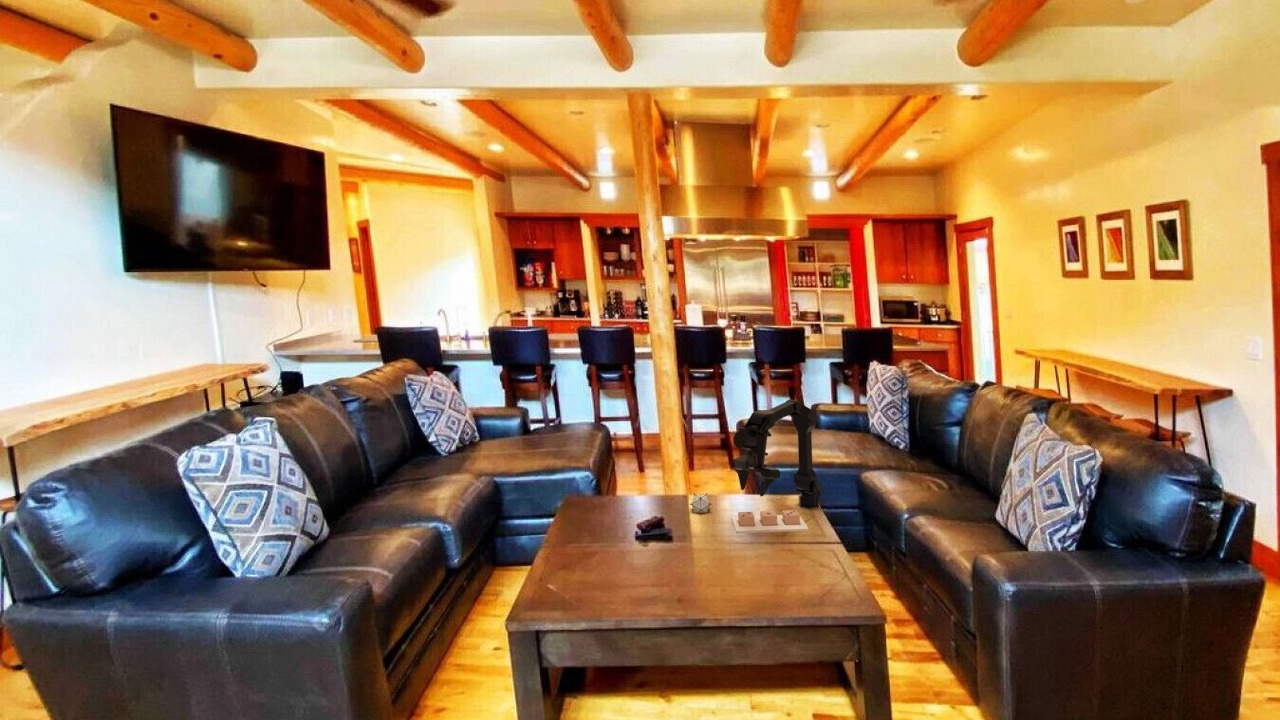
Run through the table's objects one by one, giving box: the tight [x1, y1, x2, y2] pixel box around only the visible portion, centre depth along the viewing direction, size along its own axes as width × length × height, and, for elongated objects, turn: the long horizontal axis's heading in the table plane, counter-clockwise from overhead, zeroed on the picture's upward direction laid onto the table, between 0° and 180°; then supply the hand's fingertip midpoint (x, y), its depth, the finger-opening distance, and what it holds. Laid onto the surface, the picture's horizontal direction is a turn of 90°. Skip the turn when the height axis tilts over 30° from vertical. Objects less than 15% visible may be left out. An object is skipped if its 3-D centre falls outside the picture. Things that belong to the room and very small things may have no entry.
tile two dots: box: [737, 511, 755, 527], centre depth 216 cm, size 5×5×4 cm
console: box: [730, 514, 810, 534], centre depth 216 cm, size 25×13×2 cm, turn 89°
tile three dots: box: [782, 509, 801, 525], centre depth 216 cm, size 5×5×4 cm
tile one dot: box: [759, 510, 778, 526], centre depth 216 cm, size 5×5×4 cm
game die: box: [689, 492, 713, 514], centre depth 231 cm, size 9×8×10 cm
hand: (751, 493), depth 210 cm, fingers open, 9 cm apart
